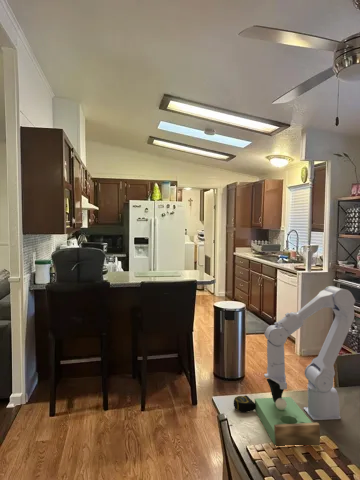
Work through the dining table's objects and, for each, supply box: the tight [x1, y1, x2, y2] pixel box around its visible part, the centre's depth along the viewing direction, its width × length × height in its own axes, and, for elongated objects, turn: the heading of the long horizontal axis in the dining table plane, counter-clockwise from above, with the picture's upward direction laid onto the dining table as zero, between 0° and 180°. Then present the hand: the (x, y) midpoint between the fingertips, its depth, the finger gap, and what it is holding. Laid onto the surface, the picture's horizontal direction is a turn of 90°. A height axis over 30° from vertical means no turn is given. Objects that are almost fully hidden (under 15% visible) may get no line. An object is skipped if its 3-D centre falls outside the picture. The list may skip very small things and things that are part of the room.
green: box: [254, 396, 319, 446], centre depth 107 cm, size 13×22×4 cm, turn 3°
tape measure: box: [233, 394, 256, 413], centre depth 119 cm, size 7×7×4 cm
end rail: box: [274, 422, 321, 446], centre depth 97 cm, size 13×1×6 cm, turn 93°
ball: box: [275, 398, 287, 410], centre depth 110 cm, size 4×4×4 cm
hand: (276, 401), depth 114 cm, fingers closed
